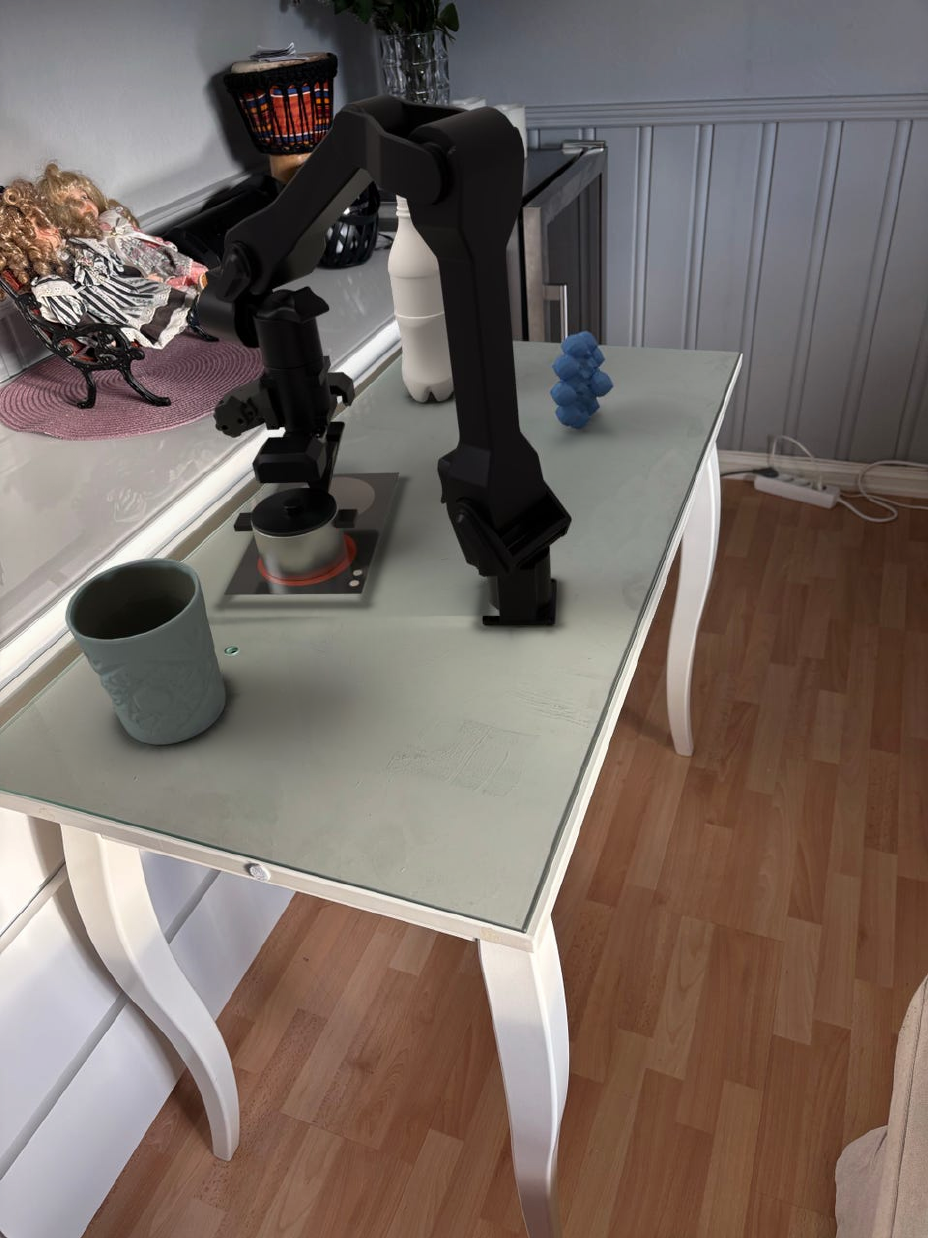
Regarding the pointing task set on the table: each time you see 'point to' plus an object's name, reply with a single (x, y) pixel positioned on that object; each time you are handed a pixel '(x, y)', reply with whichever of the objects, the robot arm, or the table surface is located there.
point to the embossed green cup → (151, 647)
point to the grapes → (579, 380)
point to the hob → (361, 541)
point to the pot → (298, 532)
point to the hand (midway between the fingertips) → (322, 497)
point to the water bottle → (419, 312)
